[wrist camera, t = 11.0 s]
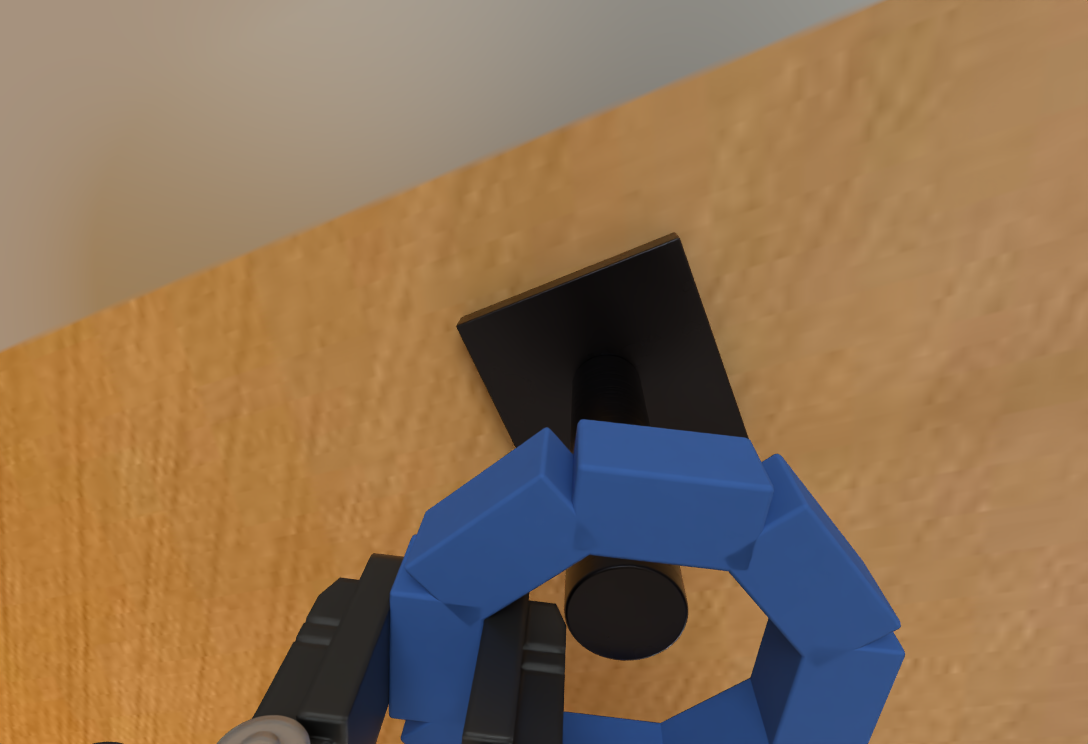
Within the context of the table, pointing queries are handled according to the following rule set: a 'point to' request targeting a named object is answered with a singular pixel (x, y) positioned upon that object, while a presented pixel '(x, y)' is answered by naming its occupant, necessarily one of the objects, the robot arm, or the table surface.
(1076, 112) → the table surface
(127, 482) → the table surface
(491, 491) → the ring
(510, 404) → the black peg stand
